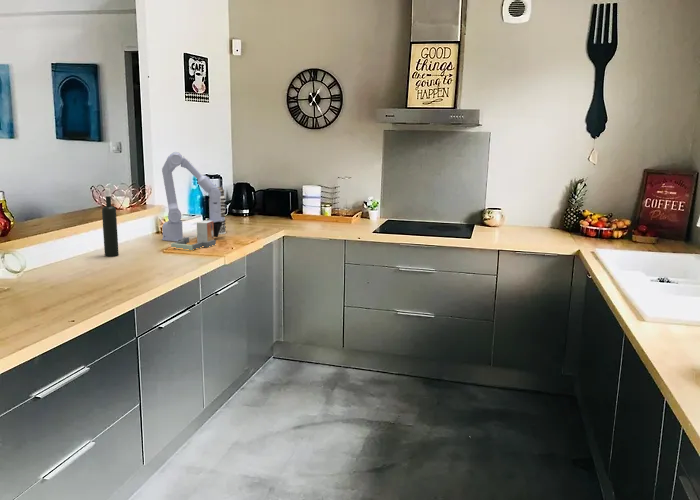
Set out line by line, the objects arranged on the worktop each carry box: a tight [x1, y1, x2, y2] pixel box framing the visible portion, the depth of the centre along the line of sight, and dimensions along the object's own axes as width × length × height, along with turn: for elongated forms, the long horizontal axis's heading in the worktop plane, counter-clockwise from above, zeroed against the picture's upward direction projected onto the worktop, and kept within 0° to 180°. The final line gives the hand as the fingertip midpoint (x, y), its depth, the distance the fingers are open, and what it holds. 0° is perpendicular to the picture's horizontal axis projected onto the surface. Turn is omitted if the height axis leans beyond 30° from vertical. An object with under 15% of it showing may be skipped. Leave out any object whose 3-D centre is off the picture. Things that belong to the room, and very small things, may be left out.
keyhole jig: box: [170, 236, 217, 251], centre depth 287 cm, size 16×17×2 cm
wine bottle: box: [101, 187, 120, 258], centre depth 261 cm, size 6×6×30 cm
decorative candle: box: [208, 186, 227, 235], centre depth 320 cm, size 9×9×25 cm
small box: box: [196, 219, 215, 243], centre depth 297 cm, size 8×6×10 cm
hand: (215, 236), depth 307 cm, fingers closed
